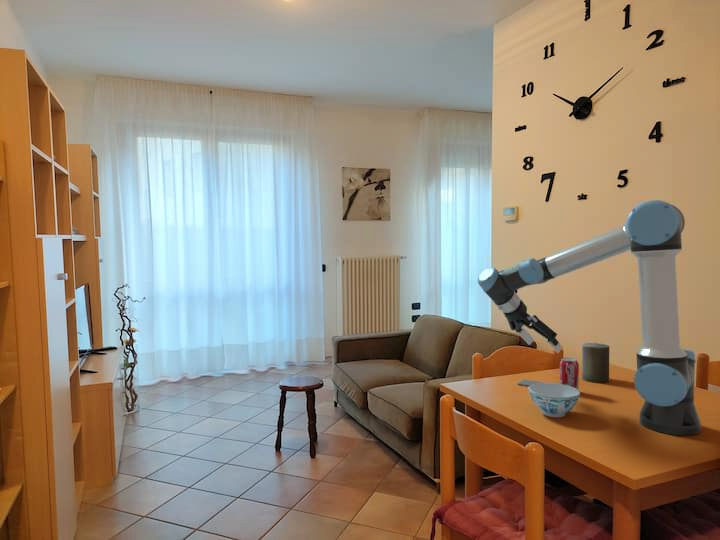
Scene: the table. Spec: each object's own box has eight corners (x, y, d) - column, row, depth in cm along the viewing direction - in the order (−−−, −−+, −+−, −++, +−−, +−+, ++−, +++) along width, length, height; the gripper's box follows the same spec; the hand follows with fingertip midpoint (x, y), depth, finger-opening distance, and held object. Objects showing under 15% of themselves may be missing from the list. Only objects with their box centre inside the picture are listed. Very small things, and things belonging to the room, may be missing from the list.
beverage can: (582, 393, 172) (582, 360, 171) (568, 395, 170) (569, 362, 169) (568, 388, 178) (569, 356, 177) (555, 390, 175) (556, 358, 175)
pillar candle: (611, 383, 183) (612, 344, 183) (583, 381, 186) (583, 343, 186) (606, 377, 192) (607, 340, 192) (580, 375, 195) (580, 338, 195)
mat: (538, 388, 178) (538, 386, 178) (517, 384, 183) (517, 383, 183) (544, 384, 184) (544, 382, 184) (524, 380, 188) (524, 379, 188)
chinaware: (590, 416, 149) (590, 391, 149) (558, 425, 142) (558, 400, 141) (550, 403, 162) (550, 380, 162) (518, 410, 155) (518, 387, 154)
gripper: (481, 309, 173) (514, 346, 180) (531, 319, 150) (566, 362, 157) (494, 293, 175) (526, 331, 181) (544, 301, 152) (579, 344, 158)
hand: (545, 345), depth 169 cm, fingers open, 13 cm apart
